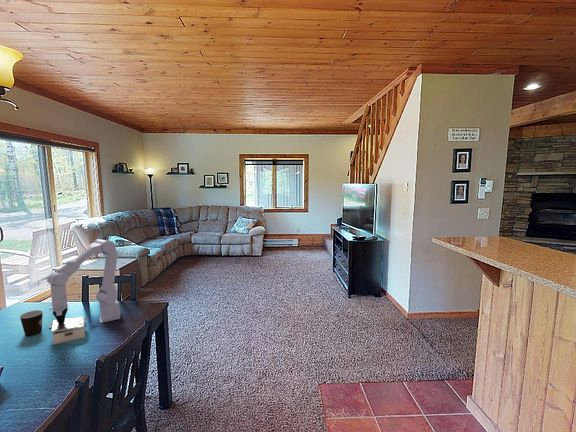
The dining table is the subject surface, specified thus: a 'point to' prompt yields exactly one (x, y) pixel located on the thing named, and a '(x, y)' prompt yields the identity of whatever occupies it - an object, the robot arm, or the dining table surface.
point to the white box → (69, 335)
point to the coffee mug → (32, 322)
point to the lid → (67, 324)
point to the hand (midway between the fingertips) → (61, 324)
